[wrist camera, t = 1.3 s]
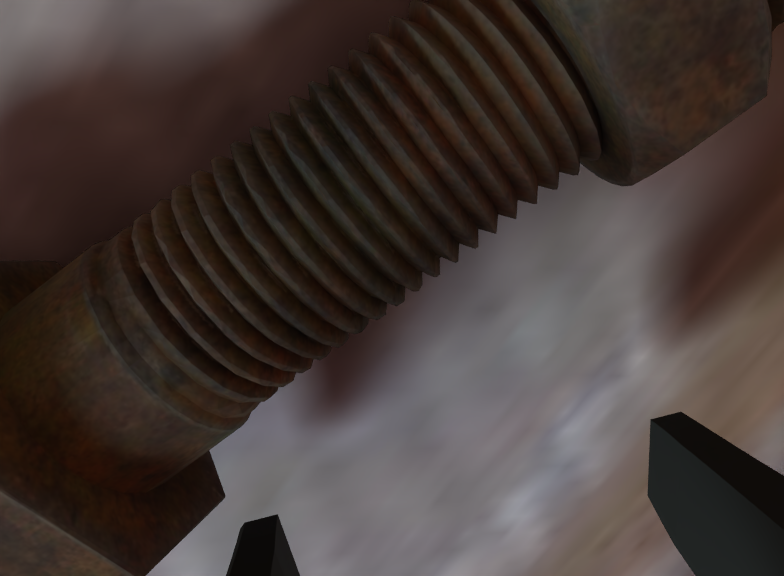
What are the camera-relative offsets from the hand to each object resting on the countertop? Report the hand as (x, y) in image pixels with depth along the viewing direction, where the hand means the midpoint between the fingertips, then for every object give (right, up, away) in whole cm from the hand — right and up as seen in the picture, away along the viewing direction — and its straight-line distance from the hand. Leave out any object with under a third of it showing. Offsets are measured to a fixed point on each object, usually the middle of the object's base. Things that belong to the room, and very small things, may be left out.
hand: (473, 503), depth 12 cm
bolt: (-2, +7, -1) cm, 7 cm away
